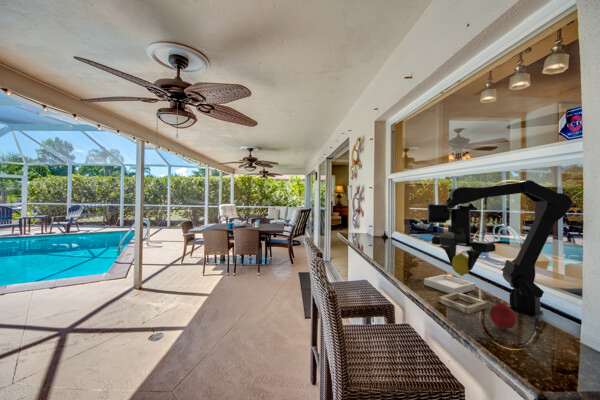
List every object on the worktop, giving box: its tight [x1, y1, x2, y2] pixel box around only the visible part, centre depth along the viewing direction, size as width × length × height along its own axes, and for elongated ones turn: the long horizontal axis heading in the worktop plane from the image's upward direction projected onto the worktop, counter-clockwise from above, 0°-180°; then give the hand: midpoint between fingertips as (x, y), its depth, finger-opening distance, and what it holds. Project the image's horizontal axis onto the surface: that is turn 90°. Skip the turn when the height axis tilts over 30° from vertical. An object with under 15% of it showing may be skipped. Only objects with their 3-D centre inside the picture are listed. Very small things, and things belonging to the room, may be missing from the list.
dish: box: [423, 273, 476, 294], centre depth 102 cm, size 13×13×3 cm
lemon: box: [451, 252, 471, 277], centre depth 86 cm, size 6×6×8 cm
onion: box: [489, 299, 517, 330], centre depth 69 cm, size 6×6×8 cm
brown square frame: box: [437, 292, 489, 315], centre depth 85 cm, size 10×10×2 cm
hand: (461, 267), depth 86 cm, fingers closed on lemon, 6 cm apart
